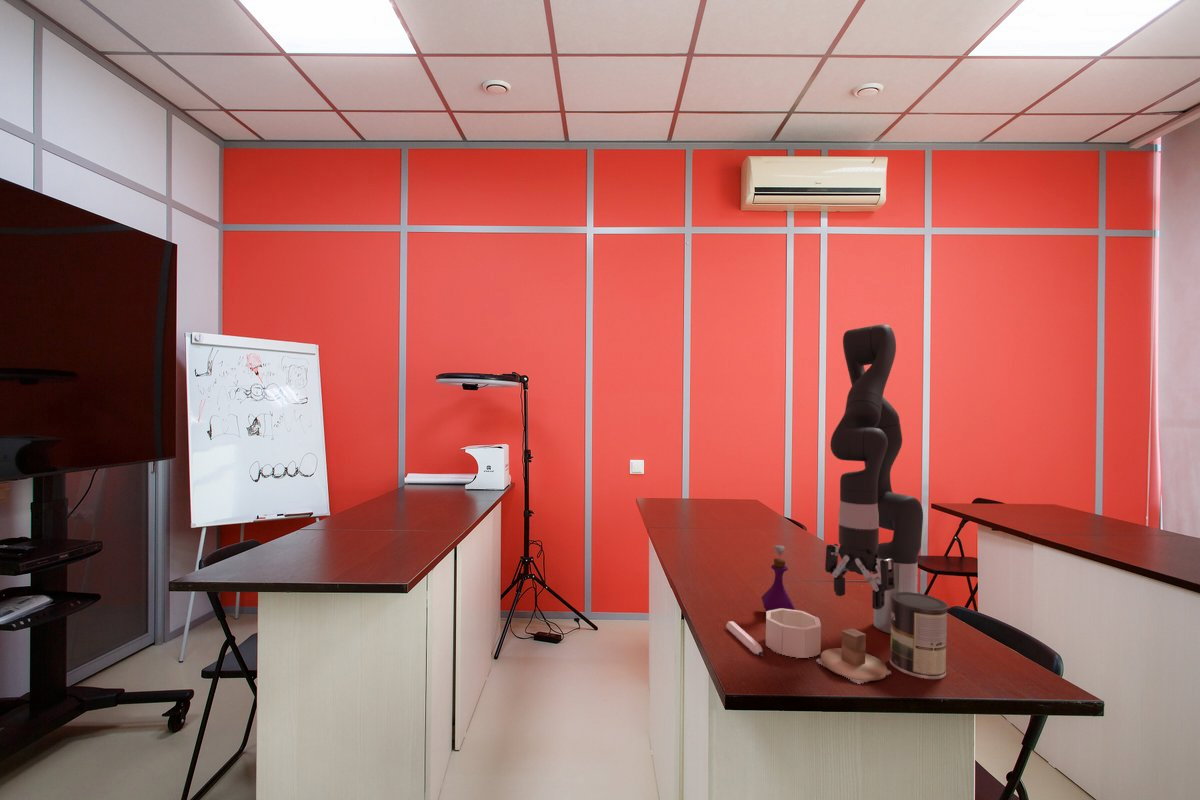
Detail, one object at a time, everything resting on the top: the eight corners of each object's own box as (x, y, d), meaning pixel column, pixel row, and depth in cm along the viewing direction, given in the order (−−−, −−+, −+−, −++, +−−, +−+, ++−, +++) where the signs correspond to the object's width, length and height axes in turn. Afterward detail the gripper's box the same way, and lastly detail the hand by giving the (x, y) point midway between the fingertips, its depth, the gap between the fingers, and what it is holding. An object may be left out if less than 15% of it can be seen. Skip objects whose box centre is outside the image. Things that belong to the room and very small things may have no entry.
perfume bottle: (794, 623, 135) (796, 551, 135) (763, 619, 136) (765, 548, 137) (790, 612, 142) (792, 543, 142) (761, 609, 144) (762, 541, 144)
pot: (790, 633, 128) (791, 606, 129) (830, 652, 118) (831, 623, 118) (754, 641, 123) (755, 613, 123) (793, 662, 113) (794, 632, 113)
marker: (762, 664, 114) (729, 632, 130) (770, 658, 115) (736, 627, 130) (757, 654, 114) (724, 623, 130) (765, 648, 114) (731, 618, 130)
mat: (848, 653, 118) (848, 650, 118) (891, 674, 109) (891, 671, 109) (816, 662, 114) (816, 659, 114) (858, 684, 105) (858, 681, 105)
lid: (846, 647, 120) (847, 617, 120) (900, 672, 109) (901, 639, 109) (807, 658, 114) (808, 626, 114) (860, 686, 103) (860, 650, 103)
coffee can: (884, 668, 112) (886, 600, 112) (895, 651, 120) (896, 588, 120) (942, 685, 105) (944, 613, 106) (949, 667, 113) (951, 599, 114)
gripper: (902, 528, 107) (902, 610, 107) (840, 515, 120) (840, 588, 119) (879, 532, 103) (878, 617, 103) (817, 518, 116) (817, 594, 116)
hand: (858, 601), depth 111 cm, fingers open, 8 cm apart
